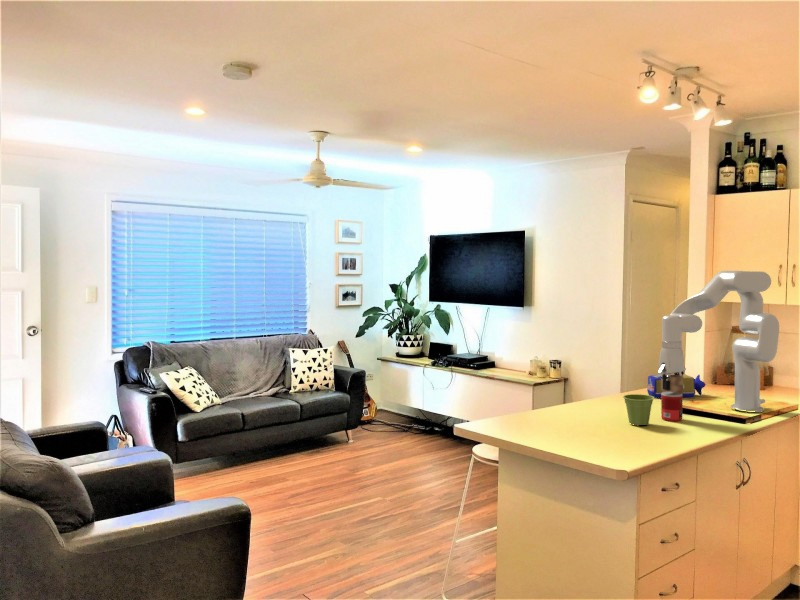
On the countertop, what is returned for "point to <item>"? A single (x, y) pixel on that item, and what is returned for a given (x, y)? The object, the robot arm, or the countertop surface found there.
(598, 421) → the countertop surface
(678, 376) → the walnut block
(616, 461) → the countertop surface
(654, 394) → the bread
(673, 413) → the canned food
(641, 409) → the plant pot
